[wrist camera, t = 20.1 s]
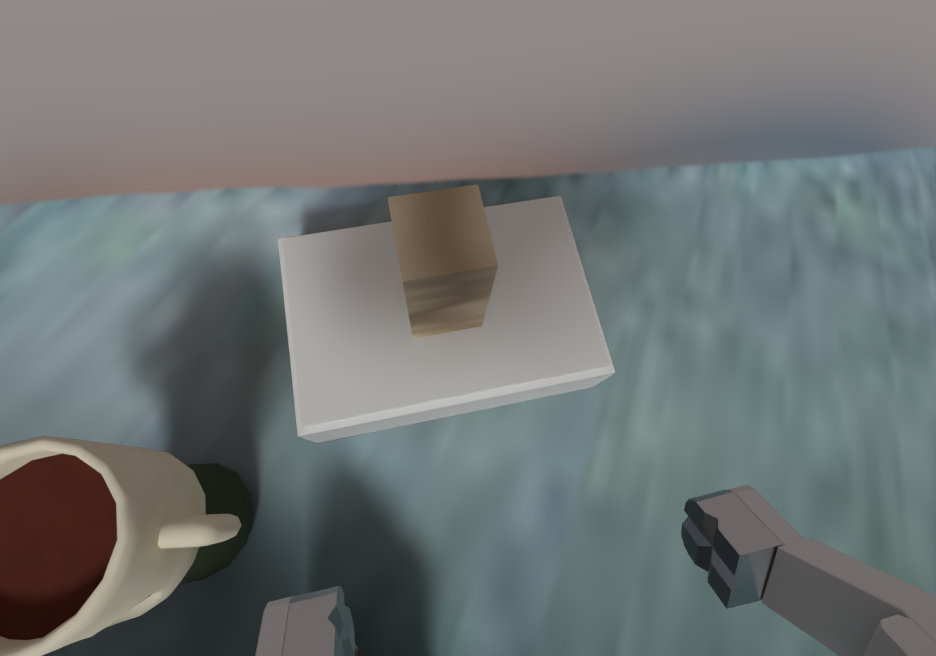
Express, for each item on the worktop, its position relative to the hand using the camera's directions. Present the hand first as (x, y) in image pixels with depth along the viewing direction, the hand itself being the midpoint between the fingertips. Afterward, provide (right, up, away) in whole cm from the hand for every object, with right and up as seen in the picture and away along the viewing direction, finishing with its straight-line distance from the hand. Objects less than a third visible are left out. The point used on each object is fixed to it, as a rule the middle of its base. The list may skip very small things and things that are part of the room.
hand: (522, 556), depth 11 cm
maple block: (-3, +7, +17) cm, 18 cm away
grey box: (-3, +5, +22) cm, 22 cm away
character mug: (-17, -6, +17) cm, 25 cm away
